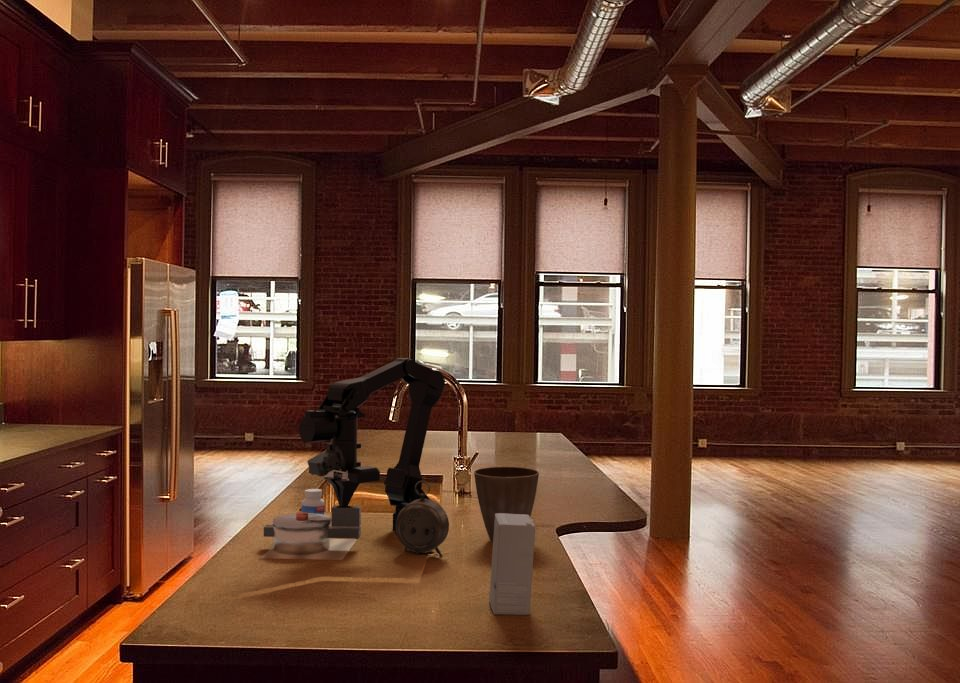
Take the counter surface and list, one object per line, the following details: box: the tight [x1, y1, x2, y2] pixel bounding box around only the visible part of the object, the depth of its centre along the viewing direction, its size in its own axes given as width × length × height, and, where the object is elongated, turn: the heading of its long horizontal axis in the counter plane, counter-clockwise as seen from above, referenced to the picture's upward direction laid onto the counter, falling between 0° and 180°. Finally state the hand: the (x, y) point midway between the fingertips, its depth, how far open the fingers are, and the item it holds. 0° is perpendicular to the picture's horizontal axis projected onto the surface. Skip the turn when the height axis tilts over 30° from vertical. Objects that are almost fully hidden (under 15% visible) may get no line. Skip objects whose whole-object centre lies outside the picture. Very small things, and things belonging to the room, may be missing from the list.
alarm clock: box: [395, 480, 450, 558], centre depth 189 cm, size 11×5×16 cm, turn 73°
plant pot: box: [473, 466, 540, 543], centre depth 204 cm, size 15×15×16 cm
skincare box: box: [488, 513, 536, 616], centre depth 154 cm, size 8×7×16 cm
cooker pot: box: [263, 524, 362, 555], centre depth 192 cm, size 20×12×5 cm, turn 88°
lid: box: [272, 505, 362, 530], centre depth 192 cm, size 19×12×4 cm, turn 91°
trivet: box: [260, 538, 358, 561], centre depth 192 cm, size 17×18×1 cm
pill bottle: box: [300, 488, 325, 515], centre depth 212 cm, size 6×5×10 cm
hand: (343, 509), depth 197 cm, fingers closed
